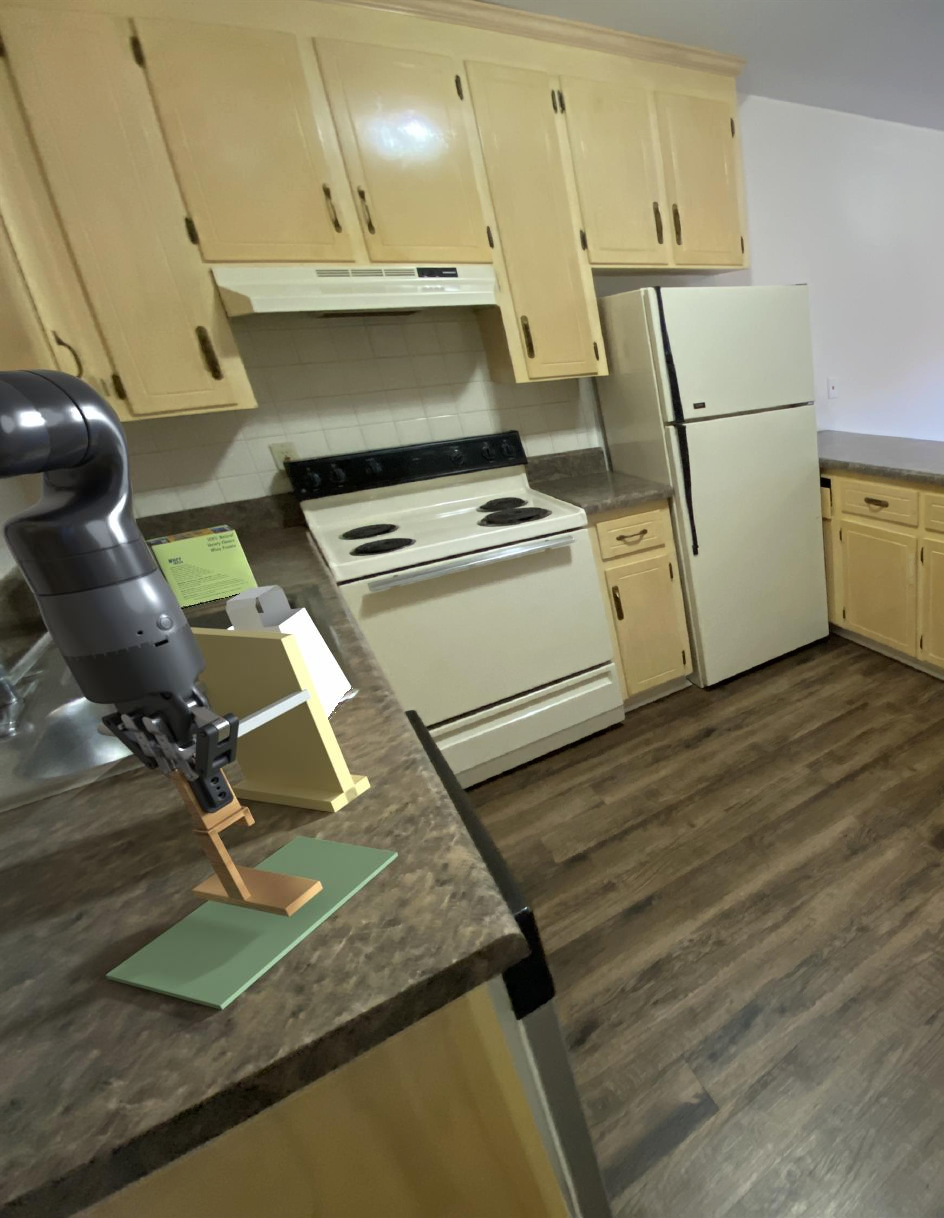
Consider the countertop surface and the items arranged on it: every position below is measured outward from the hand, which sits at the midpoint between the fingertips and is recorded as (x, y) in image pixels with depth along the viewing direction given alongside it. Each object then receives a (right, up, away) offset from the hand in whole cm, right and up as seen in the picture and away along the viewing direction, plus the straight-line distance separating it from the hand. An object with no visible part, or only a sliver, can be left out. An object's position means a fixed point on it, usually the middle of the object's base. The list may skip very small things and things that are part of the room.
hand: (213, 805), depth 60 cm
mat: (+1, -12, +5) cm, 13 cm away
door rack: (-11, -7, +19) cm, 23 cm away
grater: (-25, +2, +43) cm, 49 cm away
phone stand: (0, -3, +1) cm, 3 cm away
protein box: (-92, +21, +102) cm, 139 cm away
